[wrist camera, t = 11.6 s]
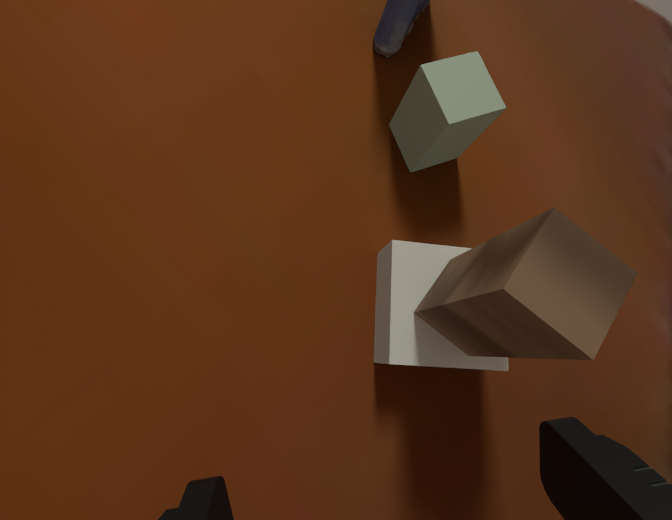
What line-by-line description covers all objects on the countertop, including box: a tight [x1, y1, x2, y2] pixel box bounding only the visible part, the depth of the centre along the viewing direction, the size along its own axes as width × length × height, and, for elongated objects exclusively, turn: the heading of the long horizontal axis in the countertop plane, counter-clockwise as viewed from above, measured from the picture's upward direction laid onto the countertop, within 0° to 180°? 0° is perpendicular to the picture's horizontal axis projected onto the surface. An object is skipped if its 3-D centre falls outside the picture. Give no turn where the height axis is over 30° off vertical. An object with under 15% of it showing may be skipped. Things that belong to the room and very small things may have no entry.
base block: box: [374, 240, 508, 371], centre depth 27 cm, size 8×8×4 cm
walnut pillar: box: [414, 207, 638, 360], centre depth 21 cm, size 4×4×10 cm
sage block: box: [389, 51, 506, 173], centre depth 29 cm, size 4×4×7 cm
